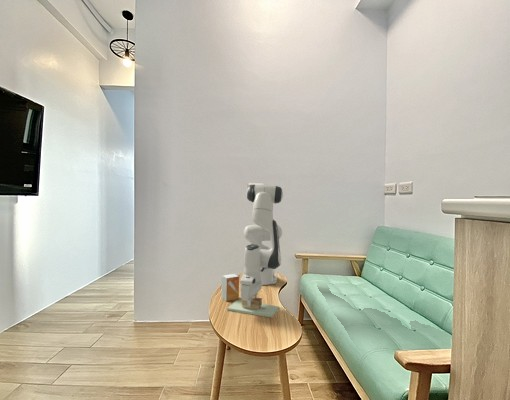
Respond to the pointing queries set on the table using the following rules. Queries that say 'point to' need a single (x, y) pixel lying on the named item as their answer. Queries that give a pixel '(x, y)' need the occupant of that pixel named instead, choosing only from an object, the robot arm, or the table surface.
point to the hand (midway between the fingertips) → (251, 303)
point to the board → (262, 311)
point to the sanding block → (253, 303)
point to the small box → (230, 287)
